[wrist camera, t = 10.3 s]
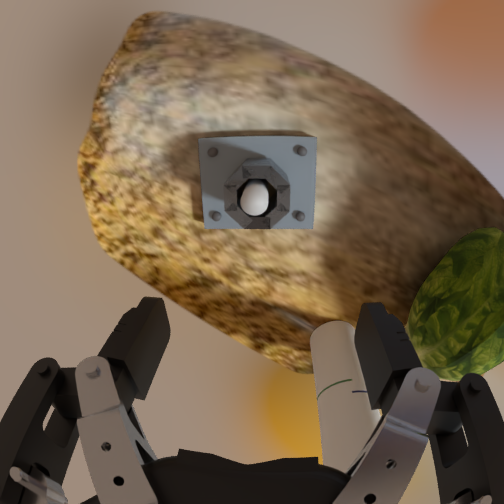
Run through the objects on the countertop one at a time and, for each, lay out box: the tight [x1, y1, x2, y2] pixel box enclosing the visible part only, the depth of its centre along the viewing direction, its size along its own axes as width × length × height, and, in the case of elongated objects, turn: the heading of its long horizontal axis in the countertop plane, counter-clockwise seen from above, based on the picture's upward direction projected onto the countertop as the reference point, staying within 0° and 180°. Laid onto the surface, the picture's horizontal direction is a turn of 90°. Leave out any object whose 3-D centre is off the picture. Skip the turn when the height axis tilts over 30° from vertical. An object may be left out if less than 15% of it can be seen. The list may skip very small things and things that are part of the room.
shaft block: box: [198, 136, 317, 229], centre depth 26 cm, size 12×10×8 cm
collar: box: [223, 158, 290, 229], centre depth 25 cm, size 6×6×5 cm
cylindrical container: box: [310, 321, 381, 473], centre depth 28 cm, size 7×7×25 cm
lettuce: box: [405, 227, 504, 381], centre depth 27 cm, size 17×23×17 cm
